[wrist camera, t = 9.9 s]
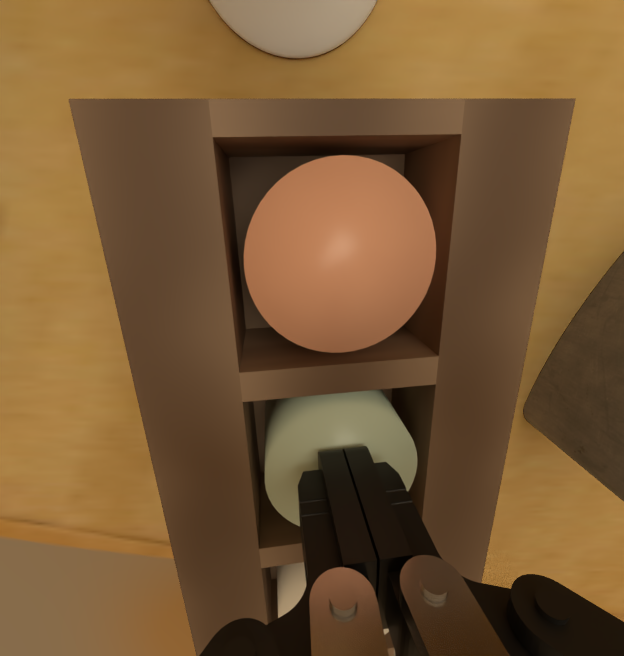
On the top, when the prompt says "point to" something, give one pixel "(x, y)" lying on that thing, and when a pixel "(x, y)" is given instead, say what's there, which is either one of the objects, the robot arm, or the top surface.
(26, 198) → the top surface
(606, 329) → the hip flask
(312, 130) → the three egg wooden crate
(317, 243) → the orange brown egg
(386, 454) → the pale green egg
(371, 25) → the top surface
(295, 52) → the white bowl
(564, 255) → the top surface
